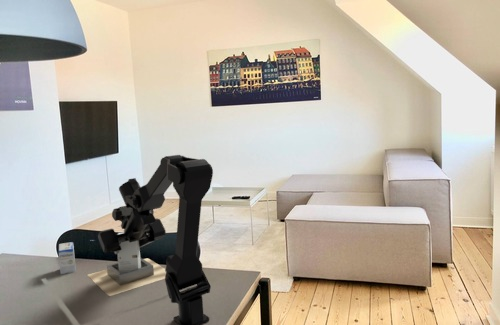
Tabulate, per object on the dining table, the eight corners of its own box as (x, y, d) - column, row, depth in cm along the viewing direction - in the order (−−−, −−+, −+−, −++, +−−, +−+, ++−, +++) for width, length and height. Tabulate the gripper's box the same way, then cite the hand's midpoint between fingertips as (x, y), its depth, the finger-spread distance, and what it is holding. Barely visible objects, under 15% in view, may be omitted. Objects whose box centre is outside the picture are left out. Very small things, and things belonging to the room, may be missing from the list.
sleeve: (153, 275, 121) (153, 265, 121) (120, 285, 114) (119, 275, 114) (140, 265, 129) (139, 256, 129) (107, 274, 123) (106, 265, 122)
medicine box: (61, 269, 132) (58, 243, 131) (75, 266, 134) (73, 241, 133) (60, 277, 125) (58, 250, 124) (76, 274, 127) (73, 248, 126)
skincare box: (119, 276, 119) (114, 237, 117) (122, 270, 124) (117, 232, 122) (140, 273, 120) (135, 235, 118) (142, 268, 124) (138, 230, 122)
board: (175, 278, 120) (175, 275, 120) (109, 299, 108) (109, 296, 108) (147, 260, 136) (147, 258, 136) (87, 277, 124) (87, 274, 124)
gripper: (158, 192, 122) (145, 221, 131) (96, 203, 110) (87, 234, 120) (173, 222, 117) (158, 250, 126) (110, 237, 105) (99, 266, 114)
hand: (126, 249), depth 122 cm, fingers closed on skincare box, 7 cm apart
